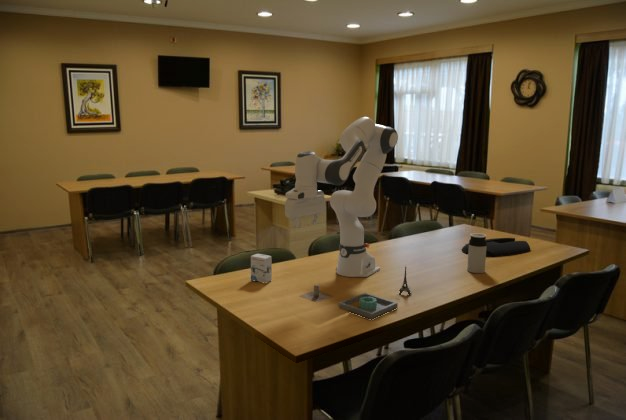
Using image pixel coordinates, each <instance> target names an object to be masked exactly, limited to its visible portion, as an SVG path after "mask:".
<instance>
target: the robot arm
mask: <svg viewBox="0 0 626 420" xmlns="http://www.w3.org/2000/svg"><path fill="white" fill-rule="evenodd" d="M398 138H399V136H398V132H397V130H396V129H395V128H393V127H391V126H386V125H382V124H377V123H375V121H374V120H373V119H372V118H371V117H368V116H362V117H359V118H358V119H356V120H355V121H353V122H352V123H351V124H349V125H348V126H347V127H346V128H345V129H344V130H343V131H342V133H341V134H340V137H339V143H340V146H341V148H342V150H343V151H344V152H345V154H344V155H343V156H342V158H339V159H323V158H322V157H319V156H318V155H317V154H316V152H315V151H311V150H309V151H308V150H307V151H303V152H299V153H298V154H296V157H295V158H296V159H295V164H294V176H295V184H294V187H293V188H291V190H288V191H287V192H285V198H286V199H285V203H284V215H285V217H286V218H288V219H292V221H293V224H294V228H296V229H298V228H301V222H299V219H300V217H305V216H310V215H313V217H312V219H311V225H317V224H318V219H319V216H320V213H325V212H326V209H327V206H326V205H327V204H326V199H325V198H326V197H325V193H324V191H323V190H321V189H320V190H318V183H322V184H329V185H333V186H342V185H343V184H345V183H346V181H347V180H348V179H349V176H350V173H351V171H352V170H353V169H354V168H355V166H356V165H357V163H358V162H359V163H358V165H357V168H356V169H355V171H354V173H353V175H352V179H353V181H354V183H355V185H354V190H346V189H341V190H336V191H334V192H333V193H332V194H331V196H330V199H329V205H330V207H331V209H332V210H333V211H334V212H335V214H336V218H337V220H338V224H339V233H340V234H339V235H340V236H339V239H340V241H339V242H340V243H339V245H338V250H339V251H338V257H337V266H336V267H335V270H336V274H338V275H339V276H343V277H350V278H356V277H357V278H358V277H359V278H367V277H369V276H371V275H372V274H374V273H375V274H376V272H378V271H380V270H381V266H379V265H377V264H376V260H375V256H373V254H371V253H369V252H368V251H367V249H366V248H370V244H371V243H367V242H366V243H364V242H365V240H364V239H365V229H364V226H363V224H362V223H361V221H360V219H359V218H369V217H371V216H373V215H374V214H375V212H376V210H377V201H376V199H375V196H374V191H375V186H376V184H377V181H378V180H379V177H380V175H381V173H382V171H383V168H384V165H385V162H386V159H387V154H388V153H390V152H391V151H392V150H393V149H394V148H395V147H396V146H397V144H398V140H399V139H398ZM366 148H367V150H366V151H365V149H366ZM359 160H360V161H359Z"/></svg>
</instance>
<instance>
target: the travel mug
mask: <svg viewBox="0 0 626 420" xmlns="http://www.w3.org/2000/svg"><path fill="white" fill-rule="evenodd" d="M469 236H470V239H469V241H468V243H469V252H468V254H467V255H468V256H467V271H468V272H470V273H471V274H483V273H485V272H486V259H487V257H486V246H487V242H486V238H487V234H485V233H481V232H480V233H478V232H472V233H470V234H469Z"/></svg>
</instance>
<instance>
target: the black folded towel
mask: <svg viewBox="0 0 626 420" xmlns="http://www.w3.org/2000/svg"><path fill="white" fill-rule="evenodd" d="M486 242H487V246H486V258H488V257H492V258H498V257H509V256H515V255H520V254H521V255H522V254H524V253H525V254H526V253H528V252H531V246H530V244H529V243H528V242H527V241H526V240H516V238H515V237H496V238H488V239H486ZM461 252H463V253H464V254H466V255H468V252H469V242H468V243H465V245H464V246H462V248H461Z"/></svg>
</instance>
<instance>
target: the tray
mask: <svg viewBox="0 0 626 420" xmlns="http://www.w3.org/2000/svg"><path fill="white" fill-rule="evenodd" d="M362 297H373V298H376V299H377V307H376V309H374V310H364V309H361V308H360V307H359V306H358V307H355V306H354V305H350V304H352V303H355V302H357V301H358V302H359V300H360V298H362ZM398 305H399V304H398V302H396V301H394V300H391V299H387V298H384V297H380V296H378V295H374V294H371V293H368V292H362V293H360V294H358V295H354V296H352V297H349V298H347V299H344V300H343V301H341V302H338V307H339V308H341V309H344V310H348V313H349V312H351V313H354V314H357V315H360V316H362V317H365V318H368V319H371V320H372V319H374V318H376V317H378V316H381V315H383V314H385V313H387V312H390V311H392V310H394V309H396V308H397V309H398ZM397 309H396V310H397ZM394 311H395V310H394ZM392 312H393V311H392ZM351 313H350V314H351ZM390 313H391V312H390ZM354 314H353V315H354ZM387 314H388V313H387ZM357 315H356V316H357ZM385 315H386V314H385ZM360 316H359V317H360ZM383 316H384V315H383ZM362 317H361V318H362ZM381 317H382V316H381ZM365 318H364V319H365ZM368 319H367V320H368ZM371 320H370V321H371ZM374 320H375V319H374ZM372 321H373V320H372Z"/></svg>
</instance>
